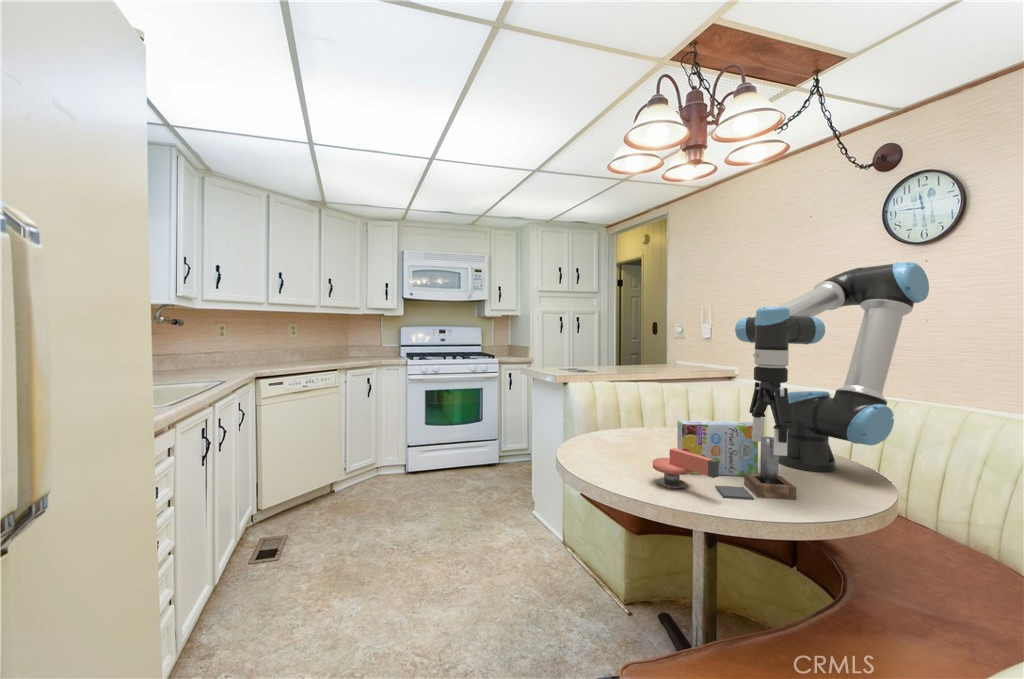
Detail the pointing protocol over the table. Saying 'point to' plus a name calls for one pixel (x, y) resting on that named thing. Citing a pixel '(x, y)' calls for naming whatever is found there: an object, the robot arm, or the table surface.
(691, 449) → the snack box
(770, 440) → the silver metal cylinder
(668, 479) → the wheel post
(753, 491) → the block
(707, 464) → the grey-tipped salmon bar
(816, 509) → the table surface
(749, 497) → the pad
